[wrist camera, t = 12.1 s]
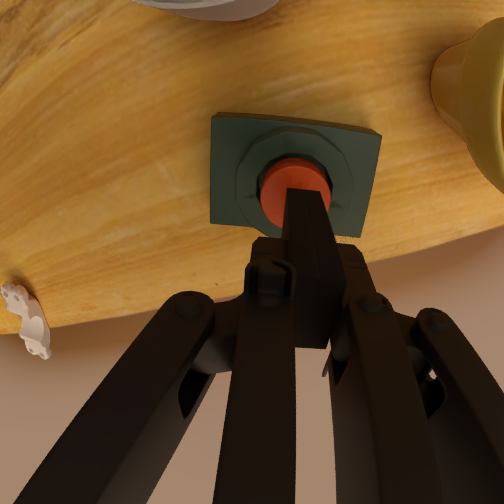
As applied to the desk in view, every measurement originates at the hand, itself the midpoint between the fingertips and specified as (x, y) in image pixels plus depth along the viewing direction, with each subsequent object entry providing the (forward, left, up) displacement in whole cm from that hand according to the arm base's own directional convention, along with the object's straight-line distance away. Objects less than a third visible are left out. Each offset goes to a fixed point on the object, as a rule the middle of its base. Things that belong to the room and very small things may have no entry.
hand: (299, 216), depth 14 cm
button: (0, 0, -4) cm, 4 cm away
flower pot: (+12, +8, -7) cm, 16 cm away
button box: (0, 0, -7) cm, 7 cm away
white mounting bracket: (-27, -19, -6) cm, 33 cm away
